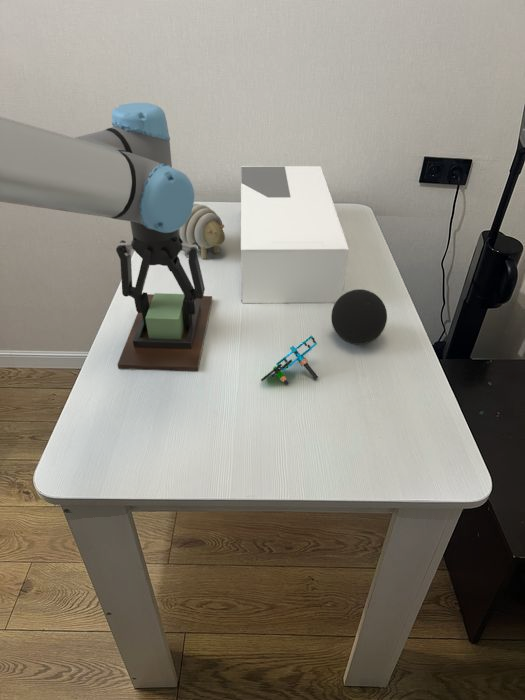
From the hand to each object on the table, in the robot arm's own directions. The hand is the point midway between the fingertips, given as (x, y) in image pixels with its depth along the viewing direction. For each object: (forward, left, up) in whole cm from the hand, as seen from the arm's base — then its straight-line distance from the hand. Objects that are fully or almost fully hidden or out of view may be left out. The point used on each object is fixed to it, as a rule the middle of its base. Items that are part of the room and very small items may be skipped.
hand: (168, 325), depth 93 cm
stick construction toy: (+18, -19, -2) cm, 26 cm away
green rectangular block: (0, 0, 0) cm, 0 cm away
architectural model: (+32, +23, -1) cm, 40 cm away
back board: (0, 0, -1) cm, 1 cm away
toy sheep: (+13, +30, -2) cm, 33 cm away
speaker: (+33, -13, -2) cm, 36 cm away
